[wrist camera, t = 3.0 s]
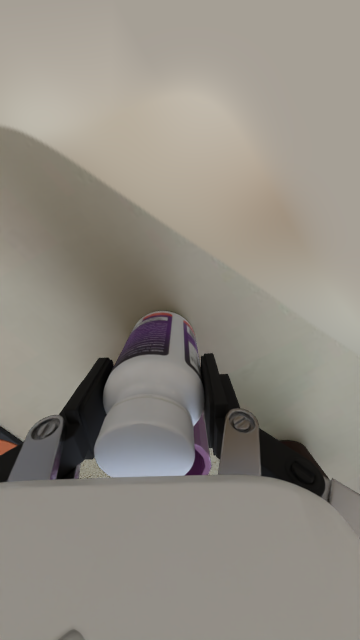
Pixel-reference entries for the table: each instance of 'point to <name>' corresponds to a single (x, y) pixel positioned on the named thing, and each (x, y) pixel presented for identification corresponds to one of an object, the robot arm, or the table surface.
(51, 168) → the table surface
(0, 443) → the placemat
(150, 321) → the pill bottle
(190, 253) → the table surface
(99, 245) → the table surface
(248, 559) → the robot arm
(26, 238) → the table surface
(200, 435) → the cup
